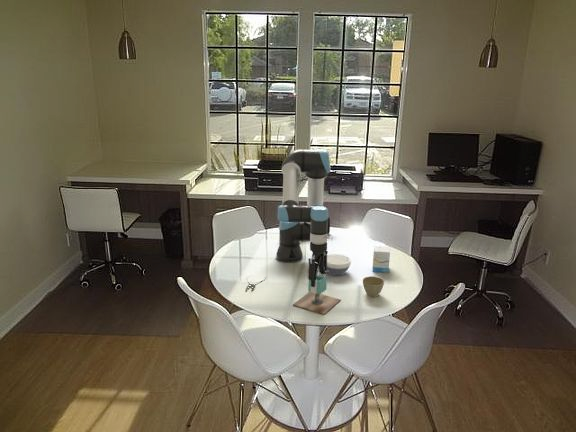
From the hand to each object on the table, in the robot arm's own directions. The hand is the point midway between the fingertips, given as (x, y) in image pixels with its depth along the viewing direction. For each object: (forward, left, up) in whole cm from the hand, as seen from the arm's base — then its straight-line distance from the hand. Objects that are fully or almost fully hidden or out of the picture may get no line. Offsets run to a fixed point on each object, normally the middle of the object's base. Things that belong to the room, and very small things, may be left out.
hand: (317, 289), depth 203 cm
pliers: (-36, +2, -7) cm, 37 cm away
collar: (0, 0, 0) cm, 0 cm away
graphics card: (-51, +78, -7) cm, 93 cm away
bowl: (-8, +36, -7) cm, 37 cm away
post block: (0, 0, -7) cm, 7 cm away
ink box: (+10, +53, -7) cm, 54 cm away
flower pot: (+18, +22, -7) cm, 29 cm away
